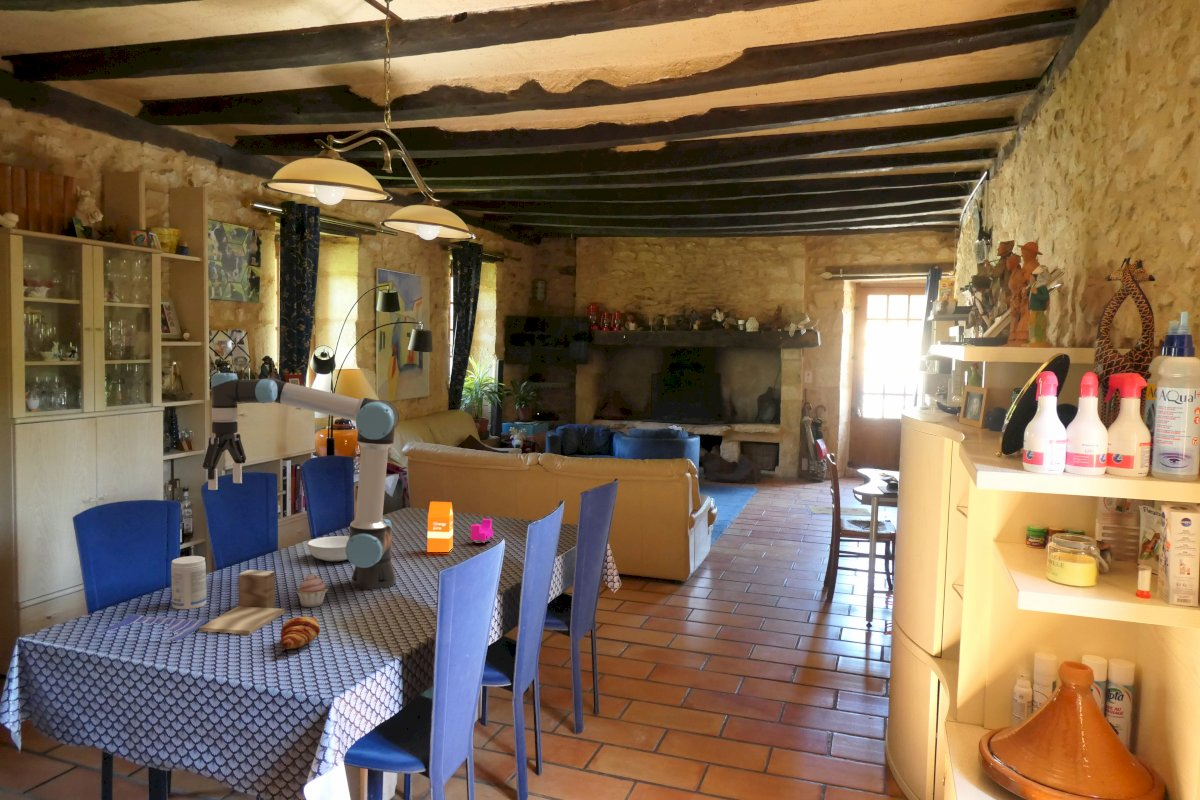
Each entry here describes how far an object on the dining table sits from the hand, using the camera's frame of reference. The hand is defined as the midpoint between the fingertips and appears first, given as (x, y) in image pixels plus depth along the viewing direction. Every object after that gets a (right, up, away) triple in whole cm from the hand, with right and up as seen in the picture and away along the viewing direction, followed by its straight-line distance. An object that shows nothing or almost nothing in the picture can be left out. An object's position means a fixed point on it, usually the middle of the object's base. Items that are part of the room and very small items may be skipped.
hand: (225, 486), depth 263 cm
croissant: (+41, -39, -41) cm, 70 cm away
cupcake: (+31, -37, -7) cm, 48 cm away
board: (+17, -37, -25) cm, 48 cm away
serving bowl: (+20, -34, +50) cm, 63 cm away
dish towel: (-4, -38, -35) cm, 52 cm away
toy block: (+71, -33, +89) cm, 118 cm away
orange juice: (+57, -33, +66) cm, 93 cm away
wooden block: (+15, -36, -12) cm, 41 cm away
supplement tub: (-6, -36, -12) cm, 38 cm away
